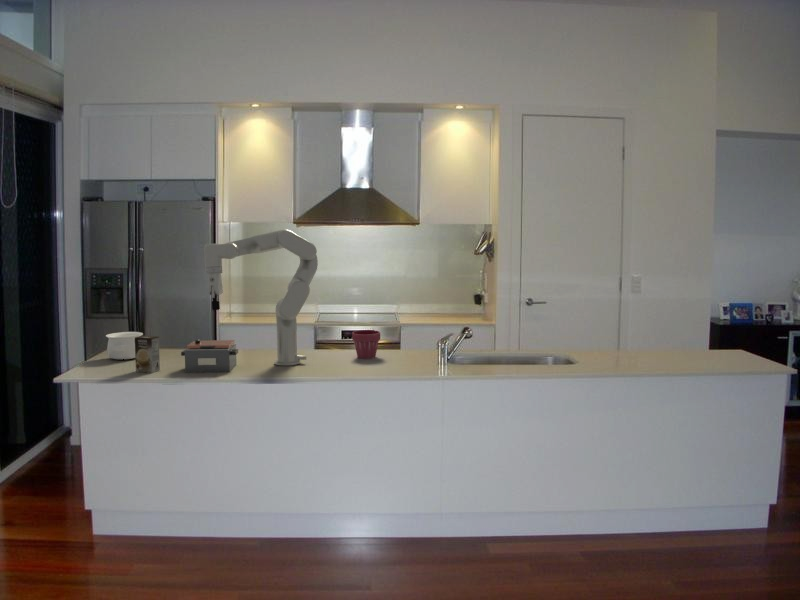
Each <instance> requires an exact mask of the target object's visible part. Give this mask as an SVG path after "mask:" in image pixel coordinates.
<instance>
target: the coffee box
mask: <svg viewBox="0 0 800 600" xmlns="http://www.w3.org/2000/svg"><path fill="white" fill-rule="evenodd" d="M160 356H161V355H160V336H159V335H158V336H156V335H144V334H143V335H141V336H139V337H135V358H134V359H135V360H134V361H135V372H136V373H145V372H147V373H149V374H153V373H156V371H157V372H159V370H160V371H161V363H160V361H161V360H160V359H161V358H160ZM147 373H146V374H147Z"/></svg>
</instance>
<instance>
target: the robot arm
mask: <svg viewBox="0 0 800 600" xmlns="http://www.w3.org/2000/svg"><path fill="white" fill-rule="evenodd" d="M203 249H204V250H203V251H204V264H205V266H204V269H205V270H204V271H205V274H206V275H207V286H208V290H207V291H208V294H209V296H211V310H212V311H220V310H221V306H220V304H221V303H220V302H221V301H220V295H222V294H223V292H224V289H223V280H222V274H223V260H224V259H225V260H233V259H235V258H237V257H241V256H247V255H250V254H251V255H252V254H264V253H268V252H272V251H276V250H281V249H285V250H287V251H289V252H290V253H292V254H293V255H295V256H297V257H299V258H298V259H299V260H300V261H299V264H298V265H299V266H298V267H297V269H296V270H295V271H296V272H295V273H294V275H293V276H292V278H291V280H290V282H289V283H288V285H287V292H286V293H285V296H284V297H283V298H280V299H279V300H278V301H277V303H276V304H275V323H276V350H277V351H276V352H277V353H276V355H277V358H276V360H274V361H273V364H274V365H276V366H287V367H289V366H296V365H300V364H301V361H302V360H304V361H306V360H307V355H300V354H299V352H298V330H297V329H298V327H297V325H298V324H297V316H298V315H299V313H300V312H301V310H302V308H303V306H304V305H305V302H306V301H307V299H308V297H309V294H310V291H311V288H310V284H311V283H312V281H313V279H314V277H315V275H316V274H317V273H316V272H317V270H318V265H319V263H318V262H319V261H318V256H317V251H318V250H317V247H316V245H315V244H314V243H312V242H310V241H308V240H307V239H305V238H304V237H302V236H300V235H299V234H297V233H295V232H293V231H292V230H290V229H280V230H276V231H271V232H267V233H262V234H257V235H253V236H251V237H247V238H243V239H237V240H234V241H228V242H226V243H206V244H205V245H204V248H203ZM222 259H223V260H222Z"/></svg>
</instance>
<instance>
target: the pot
mask: <svg viewBox="0 0 800 600" xmlns="http://www.w3.org/2000/svg"><path fill="white" fill-rule="evenodd" d="M142 335H144V333H143V332H140V331H121V332H113V333H108V334H106V335H105V337H106V338H108V341H107V348H106V351H107V354H108V357H109V358H110V359H111V360H118V361H119V360H122V361H123V359H124V360H130V359H135V337H139V336H142Z"/></svg>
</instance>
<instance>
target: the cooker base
mask: <svg viewBox="0 0 800 600" xmlns="http://www.w3.org/2000/svg"><path fill="white" fill-rule="evenodd" d="M238 354H239V349H238V348H237V344H235V343H234V344H233V345H232V346H230V347H229V348H187V347H186V349H184V350H183V351H181V352H180V356H182V357H183V356H184V367H185V368H184V370H185V373H230V372H231V371H232V370H233V369H234V368H236V366H237V355H238Z"/></svg>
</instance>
